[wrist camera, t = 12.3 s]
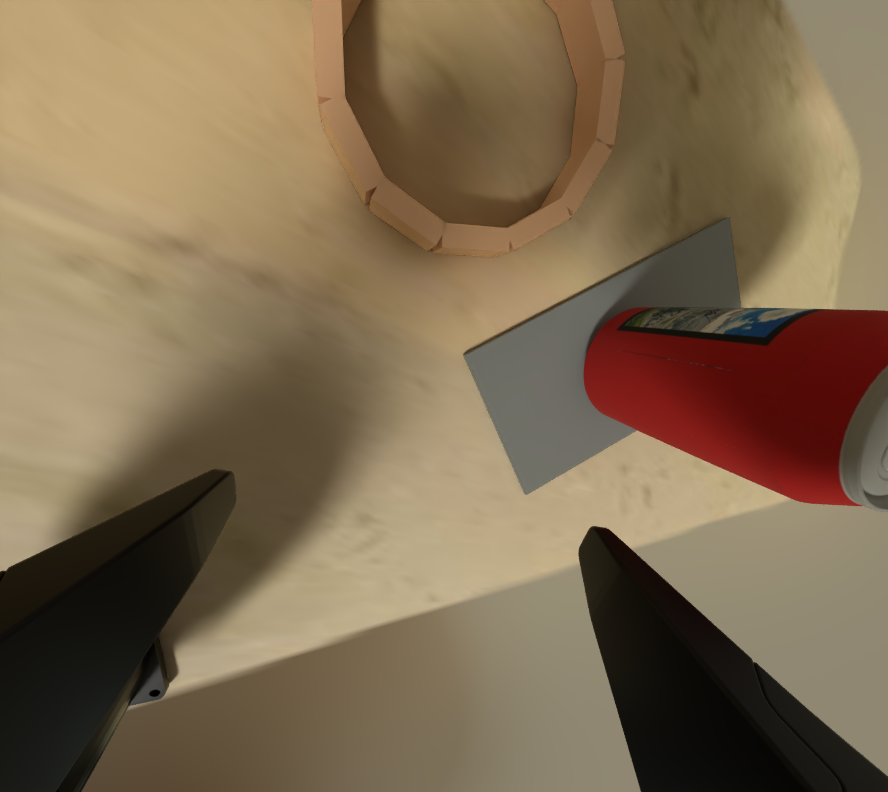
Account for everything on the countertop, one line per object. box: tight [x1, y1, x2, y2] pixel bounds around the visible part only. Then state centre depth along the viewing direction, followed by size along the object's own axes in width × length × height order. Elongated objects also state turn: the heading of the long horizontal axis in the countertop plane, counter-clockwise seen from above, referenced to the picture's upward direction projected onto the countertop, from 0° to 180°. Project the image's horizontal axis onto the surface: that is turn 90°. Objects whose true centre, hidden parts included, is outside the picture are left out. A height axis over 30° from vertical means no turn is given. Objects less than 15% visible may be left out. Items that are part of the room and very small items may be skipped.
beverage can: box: [583, 307, 888, 512], centre depth 16 cm, size 7×7×12 cm
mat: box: [464, 217, 741, 495], centre depth 21 cm, size 18×10×1 cm, turn 115°
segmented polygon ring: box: [312, 0, 625, 257], centre depth 15 cm, size 13×13×2 cm
